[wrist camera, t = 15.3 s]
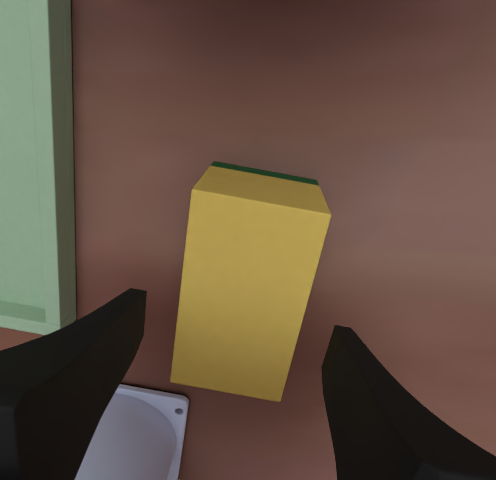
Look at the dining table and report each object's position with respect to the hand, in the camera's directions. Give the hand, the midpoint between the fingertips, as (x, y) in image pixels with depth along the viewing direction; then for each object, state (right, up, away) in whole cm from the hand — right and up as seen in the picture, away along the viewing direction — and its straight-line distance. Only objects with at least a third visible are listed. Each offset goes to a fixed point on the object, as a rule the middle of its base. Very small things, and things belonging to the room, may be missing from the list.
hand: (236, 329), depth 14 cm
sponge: (0, +3, +5) cm, 6 cm away
